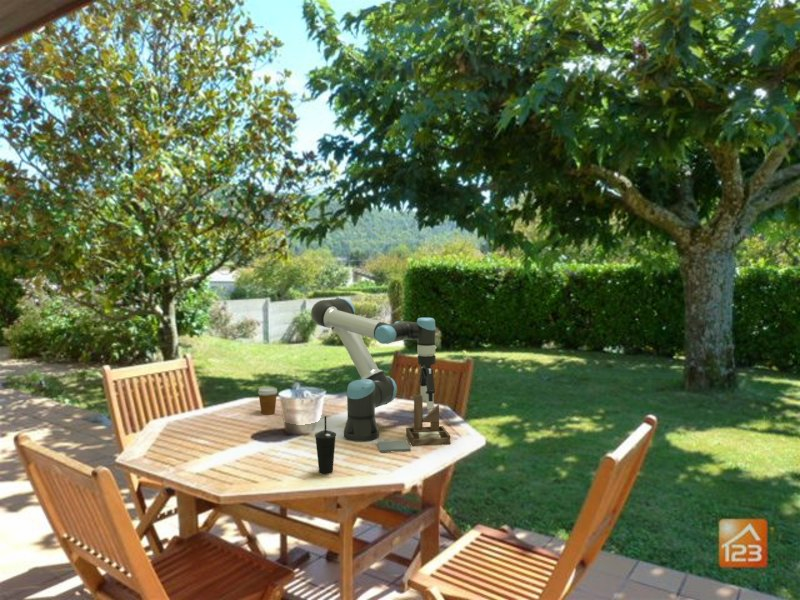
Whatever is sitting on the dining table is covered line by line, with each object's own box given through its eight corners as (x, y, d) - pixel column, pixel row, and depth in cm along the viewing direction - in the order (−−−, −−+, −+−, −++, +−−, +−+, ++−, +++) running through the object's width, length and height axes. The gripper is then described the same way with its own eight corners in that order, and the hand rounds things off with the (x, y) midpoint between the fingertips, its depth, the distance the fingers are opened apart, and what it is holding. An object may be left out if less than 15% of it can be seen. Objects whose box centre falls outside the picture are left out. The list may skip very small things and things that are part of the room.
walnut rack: (411, 446, 236) (411, 437, 235) (406, 435, 250) (406, 427, 249) (450, 444, 238) (450, 435, 238) (442, 434, 252) (442, 426, 252)
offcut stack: (419, 444, 238) (419, 434, 238) (417, 442, 241) (417, 432, 241) (440, 443, 239) (440, 433, 239) (439, 441, 243) (439, 431, 242)
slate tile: (380, 452, 228) (380, 450, 228) (377, 443, 239) (377, 441, 239) (410, 451, 230) (410, 448, 230) (406, 442, 240) (406, 440, 240)
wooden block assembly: (439, 439, 245) (439, 396, 244) (413, 439, 245) (413, 396, 244) (438, 436, 248) (438, 394, 247) (413, 436, 249) (413, 394, 248)
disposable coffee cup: (254, 413, 287) (254, 389, 286) (271, 409, 293) (271, 386, 292) (264, 417, 280) (263, 392, 279) (281, 413, 286) (281, 389, 285)
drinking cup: (337, 467, 211) (337, 413, 210) (335, 475, 204) (335, 419, 202) (316, 468, 211) (315, 413, 210) (313, 475, 203) (313, 419, 202)
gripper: (441, 359, 233) (442, 411, 234) (429, 350, 257) (429, 397, 259) (423, 359, 231) (423, 412, 233) (412, 350, 256) (413, 398, 257)
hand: (427, 404), depth 246 cm, fingers open, 13 cm apart
